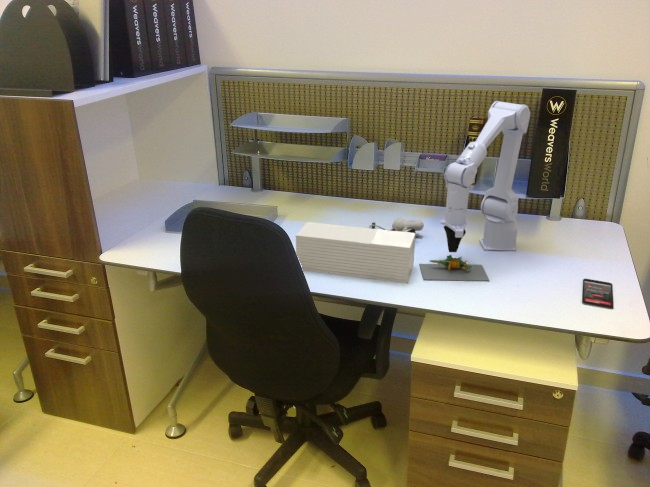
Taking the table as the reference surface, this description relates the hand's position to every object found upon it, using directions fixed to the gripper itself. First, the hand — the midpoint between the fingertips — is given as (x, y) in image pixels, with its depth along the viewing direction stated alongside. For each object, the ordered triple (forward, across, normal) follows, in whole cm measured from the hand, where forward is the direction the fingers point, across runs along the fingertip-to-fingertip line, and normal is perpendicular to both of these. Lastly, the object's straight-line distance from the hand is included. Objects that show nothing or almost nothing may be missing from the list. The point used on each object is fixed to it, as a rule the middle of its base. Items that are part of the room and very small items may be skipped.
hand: (452, 251), depth 163 cm
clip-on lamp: (+5, -23, -15) cm, 28 cm away
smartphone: (+6, +15, +36) cm, 39 cm away
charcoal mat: (+5, +4, 0) cm, 6 cm away
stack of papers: (+6, +2, -28) cm, 28 cm away
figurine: (+3, -3, 0) cm, 4 cm away
